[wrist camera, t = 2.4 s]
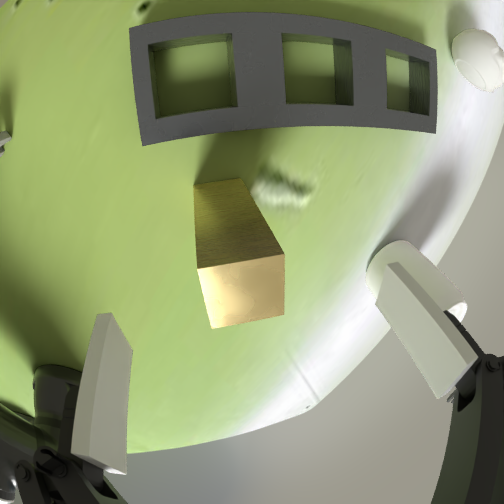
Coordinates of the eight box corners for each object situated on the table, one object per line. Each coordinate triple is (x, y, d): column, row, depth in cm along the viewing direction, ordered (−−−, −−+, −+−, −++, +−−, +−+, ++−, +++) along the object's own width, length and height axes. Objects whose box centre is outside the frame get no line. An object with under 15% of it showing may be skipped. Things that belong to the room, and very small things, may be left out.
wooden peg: (244, 220, 25) (284, 314, 15) (200, 227, 24) (211, 328, 14) (240, 178, 22) (284, 254, 13) (193, 185, 22) (197, 269, 12)
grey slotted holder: (416, 127, 22) (435, 133, 20) (149, 139, 19) (142, 146, 17) (415, 49, 18) (435, 49, 15) (137, 36, 14) (129, 28, 12)
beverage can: (417, 234, 30) (479, 290, 20) (401, 283, 35) (450, 341, 25) (370, 240, 29) (435, 309, 19) (356, 294, 33) (404, 364, 24)
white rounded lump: (472, 93, 21) (518, 106, 14) (439, 75, 19) (492, 84, 13) (471, 41, 16) (517, 47, 10) (437, 17, 15) (488, 16, 9)
